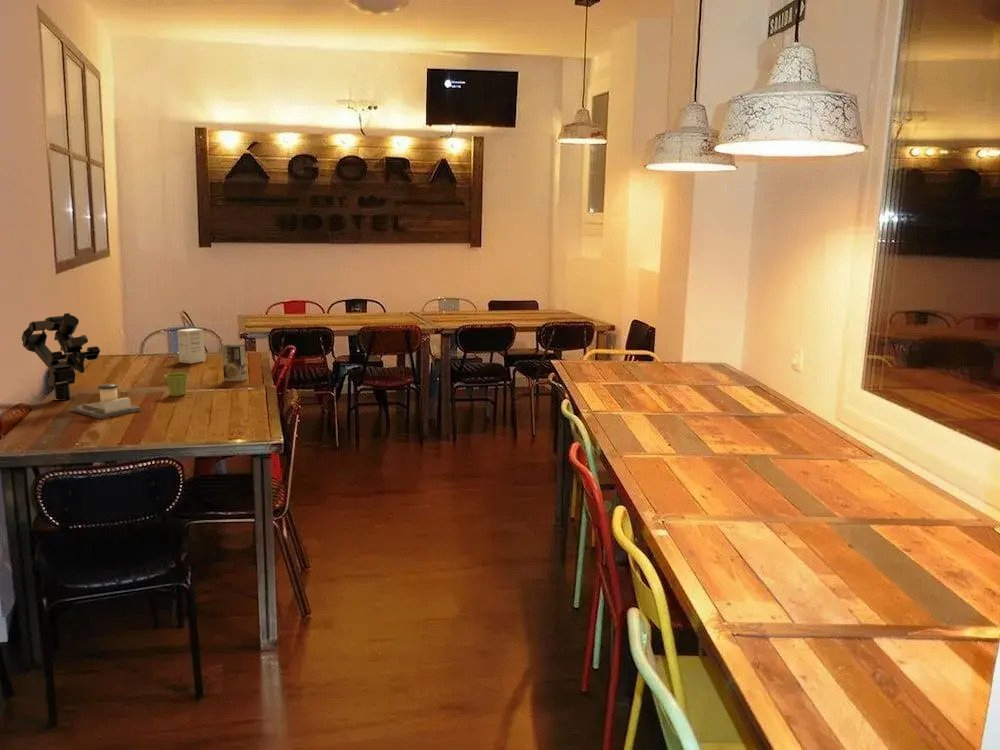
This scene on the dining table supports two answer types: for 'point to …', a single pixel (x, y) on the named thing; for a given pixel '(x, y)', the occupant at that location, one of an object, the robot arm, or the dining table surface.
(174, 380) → the plant pot
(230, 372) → the coffee box
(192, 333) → the supplement box
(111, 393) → the knob
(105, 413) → the knob mount
